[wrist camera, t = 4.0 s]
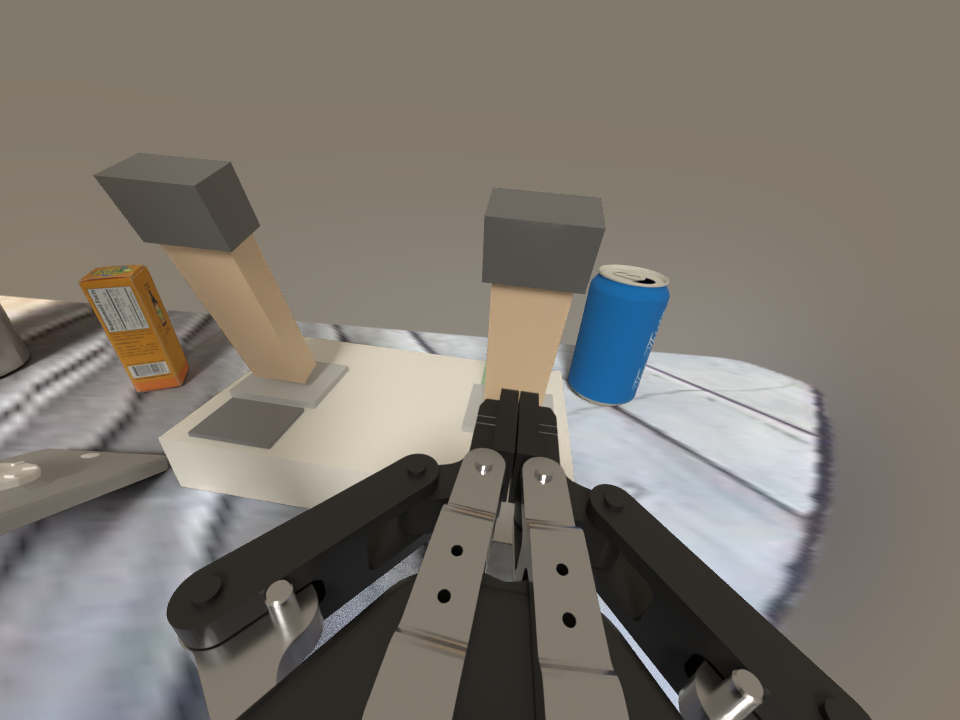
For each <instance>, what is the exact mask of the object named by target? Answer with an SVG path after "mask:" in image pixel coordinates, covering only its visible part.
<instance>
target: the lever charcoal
mask: <svg viewBox="0 0 960 720" xmlns="http://www.w3.org/2000/svg"><path fill="white" fill-rule="evenodd" d="M94 177H95V178H96V179H97V181H98V182H99V183H100V185H101V186H102V187H103V189H104V190H105V191H106V193H107V194H108V195H109V197H110V198H111V199H112V200H113V202H114V203H115V205H116V206H117V207H118V208H119V210H120V211H121V212H122V214H123V215H124V216H125V218H126V219H127V220H128V222H129V223H130V224H131V226H132V227H133V228H134V230H135V231H136V232H137V234H138V235H139V236H140V238H141V239H142V240H143V242H148V243H157V244H160V245H161V246H162V248H163V249H164V251H165V252H166V254H167V255H168V256H169V257H170V259H171V260H172V262H173V263H174V265H175V266H176V267H177V269H178V270H179V272H180V273H181V274H182V276H183V277H184V278H185V280H186V281H187V282H188V284H189V285H190V287H191V288H192V290H193V291H194V292H195V294H196V295H197V296H198V298H199V299H200V301H201V302H202V303H203V305H204V306H205V307H206V309H207V310H208V312H209V313H210V314H211V316H212V317H213V319H214V320H215V321H216V323H217V324H218V326H219V327H220V328H221V330H222V331H223V332H224V334H225V335H226V337H227V338H228V339H229V341H230V342H231V344H232V345H233V346H234V348H235V349H236V350H237V352H238V353H239V355H240V356H241V357H242V359H243V360H244V362H245V363H246V364H247V366H248V367H249V368H250V370H251V371H252V373H253V374H254V375H255V376H256V377H263V378H269V379H276V380H283V381H290V382H297V383H304V384H305V382H306V380H307V379H308V377H309V375H310V374H311V372H312V370H313V369H314V367H315V365H316V362H315V360H314V358H313V356H312V354H311V352H310V350H309V348H308V346H307V344H306V342H305V340H304V338H303V336H302V334H301V332H300V330H299V328H298V326H297V324H296V322H295V320H294V318H293V316H292V313H291V311H290V310H289V307H288V305H287V303H286V301H285V299H284V297H283V295H282V293H281V291H280V289H279V287H278V285H277V283H276V281H275V279H274V277H273V275H272V273H271V271H270V269H269V267H268V265H267V263H266V261H265V259H264V257H263V255H262V253H261V251H260V249H259V247H258V244H257V242H256V241H255V238H254V237H253V234H252V233H253V232H254V231H255V230H256V229H257V228H258V227H260V224H259V222H258V220H257V218H256V216H255V213H254V211H253V209H252V207H251V205H250V203H249V201H248V199H247V196H246V194H245V192H244V190H243V188H242V185H241V183H240V181H239V179H238V177H237V175H236V173H235V171H234V168H233V166H232V164H231V162H226V161H216V160H206V159H195V158H184V157H175V156H165V155H154V154H144V153H138V154H136V155H134V156H132V157H130V158H128V159H126V160H123V161H121V162H119V163H117V164H115V165H113V166H111V167H109V168H107V169H105V170H103V171H101V172H99V173H97V174H95V175H94Z"/></svg>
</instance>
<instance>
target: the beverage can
mask: <svg viewBox="0 0 960 720" xmlns="http://www.w3.org/2000/svg"><path fill="white" fill-rule="evenodd" d="M668 283H669V279H668V278H667V277H666V276H664V275H662V274H660V273H657V272H654V271H651V270H647V269H644V268H639V267H633V266H626V265H605V266H601V267H600V268H599V274H598V275H596V276H595V277H594V278H593V279H592V281H591V284H590V287H589V292H588V296H587V300H586V305H585V309H584V313H583V317H582V321H581V326H580V330H579V334H578V338H577V343H576V347H575V351H574V355H573V359H572V364H571V368H570V372H569V376H568V382H569V384H570V386H571V387H572V389H573V390H574V391H576V393H577V394H578V395H579V396H580V397H581V398H583V399H584V400H586V401H588V402H590V403H593V404H596V405H601V406H617V405H620V404H625V403H628V402H630V401H631V400H632V399H633V398H634V396H635V394H636V391H637V388H638V385H639V382H640V380H641V377H642V374H643V371H644V368H645V365H646V363H647V360H648V357H649V354H650V351H651V348H652V345H653V342H654V340H655V337H656V334H657V332H658V329H659V326H660V323H661V320H662V317H663V314H664V311H665V309H666V306H667V303H668V300H669V297H670V296H669V291H668V288H667V285H668Z"/></svg>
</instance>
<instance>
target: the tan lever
mask: <svg viewBox="0 0 960 720" xmlns="http://www.w3.org/2000/svg"><path fill="white" fill-rule="evenodd" d="M484 220H485V221H484V245H483V270H482V282H486V283H492V289H491V303H490V319H489V334H488V349H487V364H486V380H485V395H484V401H485V400H486V399H494V400H500V394H501V388H505V389H512V390H519V396H520V391H526V392H533V393H539V406H542V403H543V399H544V396H545V392H546V389H547V385H548V382H549V378H550V375H551V371H552V368H553V364H554V361H555V357H556V354H557V350H558V347H559V343H560V340H561V336H562V333H563V329H564V326H565V322H566V319H567V315H568V311H569V308H570V304H571V301H572V298H573V294H574V293H580V294H585V292H586V288H587V285H588V282H589V279H590V276H591V273H592V270H593V266H594V263H595V260H596V257H597V254H598V250H599V247H600V244H601V241H602V238H603V235H604V231H605V222H604V215H603V208H602V201H601V198H595V197H585V196H575V195H564V194H553V193H544V192H533V191H524V190H512V189H503V188H493V189H492V193H491V196H490V199H489V203H488V206H487V210H486V213H485V219H484ZM518 402H519V401H518Z"/></svg>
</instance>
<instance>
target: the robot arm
mask: <svg viewBox="0 0 960 720" xmlns="http://www.w3.org/2000/svg"><path fill="white" fill-rule="evenodd" d="M29 357H30V353H29V351H28V349H27V347H26V346H25V344H24V342H23V341H22V339H21V337H20V336H19V334H18V332H17V331H16V329H15V328H14V326H13V324H12V323H11V321H10V319H9V318H8V316H7V314H6V312H5V311H4V309H3V307H2V306H1V304H0V377H1V376H3V375H5V374H7V373H9V372H11V371H13V370H15V369H17V368H18V367H20V366H21V365H23V364H24V363H25V362H26V361H27V360H28V359H29ZM518 401H519V402H518ZM509 483H510V485H509ZM508 488H509V497H508V503H514V515H513V520H512V562H513V582H503V581H501V580H499V579H496V578H494V577H492V576H490V575H488V574H486V573H487V567H488V562H489V557H490V552H491V547H492V542H493V537H494V532H495V527H496V522H497V518H498V517H499V514H500V509H501V503H502V502H506V500H507V494H508ZM429 540H430V542H429V545H428V548H427V550H426V553H425V556H424V559H423V561H422V564H421V567H420V570H419V572H418V573H417V574H415V575H412V576H409V577H407V578H405V579H403V580H401V581H399V582H398V583H396V584H395V585H393V586H392V587H390V588H389V589H388V590H387V591H385V592H384V593H383V594H382V595H381V596H380V597H378V598H377V599H376V600H375V601H374V602H373V603H371V604H370V605H369V606H368V607H367V608H366V609H364V610H363V611H362V612H361V613H360V614H358V615H357V616H356V617H355V618H354V619H353V620H351V621H350V622H349V623H348V624H347V625H346V626H344V627H343V628H342V629H341V630H340V631H339V632H337V633H336V634H335V635H334V636H333V637H331V638H330V639H329V640H328V641H327V642H326V643H324V644H323V645H322V646H321V647H320V648H319V649H317V650H316V651H315V652H314V653H313V654H312V655H310V656H309V657H308V658H307V659H306V660H304V659H305V658H306V657H307V656H308V655H309V654H310V653H311V651H312V650H313V649H314V648H315V646H316V645H317V643H318V641H319V639H320V637H321V634H322V631H323V620H325V619H326V618H327V617H329V616H330V615H331V614H333V613H334V612H335V611H337V610H338V609H339V608H340V607H342V606H343V605H344V604H346V603H347V602H348V601H350V600H351V599H352V598H354V597H355V596H356V595H358V594H359V593H360V592H362V591H363V590H364V589H365V588H367V587H368V586H369V585H371V584H372V583H373V582H375V581H376V580H377V579H379V578H380V577H381V576H383V575H384V574H385V573H386V572H388V571H389V570H390V569H392V568H393V567H394V566H396V565H397V564H398V563H400V562H401V561H402V560H404V559H405V558H406V557H407V556H409V555H410V554H411V553H413V552H414V551H415V550H417V549H418V548H419V547H421V546H422V545H423V544H425V543H426V542H427V541H429ZM596 592H597V593H598V594H599V596H600V597H601V598H602V600H603V601H604V602H605V603H606V605H607V606H608V607H609V608H610V610H611V611H612V612H613V613H614V615H615V616H616V617H617V619H618V620H619V621H620V622H621V624H622V625H623V626H624V627H625V629H626V630H627V631H628V632H629V634H630V635H631V636H632V637H633V639H634V640H635V641H636V643H637V644H638V645H639V646H640V648H641V649H642V650H643V651H644V653H645V654H646V655H647V656H648V658H649V659H650V660H651V661H652V663H653V664H654V665H655V667H656V668H657V669H658V670H659V672H660V673H661V674H662V675H663V677H664V678H665V679H666V680H667V682H668V683H669V684H670V686H671V687H672V688H673V689H674V691H675V692H676V693H677V694H678V696H679V710H680V713H679V712H678V710H677V709H676V707H675V706H674V705H673V703H672V702H671V701H670V699H669V698H668V697H667V695H666V694H665V693H664V691H663V690H662V688H661V687H660V686H659V684H658V683H657V682H656V680H655V679H654V678H653V676H652V675H651V673H650V672H649V671H648V669H647V668H646V667H645V665H644V664H643V663H642V661H641V660H640V659H639V657H638V656H637V654H636V653H635V652H634V650H633V649H632V648H631V646H630V645H629V644H628V642H627V641H626V640H625V638H624V637H623V635H622V634H621V633H620V632H619V630H618V629H617V628H616V627H615V626H614V624H613V623H612V622H611V621H610V620H609V619H608V618H607V617H606V616H605V615H604V614H602V613H601V612H600V607H599V602H598V598H597V593H596ZM167 619H168V621H169V623H170V624H171V626H172V627H173V629H174V630H175V632H176V633H177V635H178V637H179V642H180V643H181V645H182V647H183V648H184V650H185V651H186V652H187V654H188V655H189V657H190V658H191V660H192V661H193V662H194V664H195V665H196V667H197V668H198V672H199V676H200V680H201V684H202V688H203V692H204V696H205V700H206V704H207V708H208V712H209V716H210V720H871V718H870V717H869V716H868V714H867V713H866V712H865V711H864V710H863V709H862V707H861V706H860V705H859V704H858V703H857V702H856V701H855V700H854V699H852V698H851V697H850V696H849V695H848V694H847V693H846V692H845V691H844V690H843V689H842V688H840V687H839V686H838V685H837V684H836V683H835V682H834V681H833V680H832V679H831V678H830V677H828V676H827V675H826V674H825V673H824V672H823V671H822V670H821V669H819V667H817V666H816V665H815V664H814V663H813V662H812V661H811V660H810V659H809V658H808V657H807V656H805V655H804V654H803V653H802V652H801V651H800V650H799V649H798V648H797V647H796V646H795V645H793V644H792V643H791V642H790V641H789V640H788V639H787V638H786V637H785V636H784V635H783V634H781V633H780V632H779V631H778V630H777V629H776V628H775V627H774V626H773V625H772V624H771V623H769V622H768V621H767V620H766V619H765V618H764V617H763V616H762V615H761V614H760V613H758V612H757V611H756V610H755V609H754V608H753V607H752V606H751V605H750V604H749V603H748V602H746V601H745V600H744V599H743V598H742V597H741V596H740V595H739V594H738V593H737V592H736V591H734V590H733V589H732V588H731V587H730V586H729V585H728V584H727V583H726V582H725V581H723V580H722V579H721V578H720V577H719V576H718V575H717V574H716V573H715V572H714V571H713V570H711V569H710V568H709V567H708V566H707V565H706V564H705V563H704V562H703V561H702V560H701V559H699V558H698V557H697V556H696V555H695V554H694V553H693V552H692V551H691V550H690V549H688V548H687V547H686V546H685V545H684V544H683V543H682V542H681V541H680V540H679V539H678V538H676V537H675V536H674V535H673V534H672V533H671V532H670V531H669V530H668V529H667V528H666V527H664V526H663V525H662V524H661V523H660V522H659V521H658V520H657V519H656V518H655V517H653V516H652V515H651V514H650V513H649V512H648V511H647V510H646V509H645V508H644V507H643V506H641V505H640V504H639V503H638V502H637V501H636V500H635V499H634V498H633V497H632V496H631V495H629V494H628V493H627V492H626V491H624V490H623V489H621V488H619V487H617V486H614V485H609V484H602V485H598V486H596V487H594V488H593V489H592V490H590V489H588V488H585V487H583V486H581V485H578V484H576V483H575V482H573V481H572V480H570V479H569V478H568V477H567V476H566V475H565V472H564V470H563V468H562V467H561V465H560V455H559V442H558V429H557V417H556V415H555V414H554V412H553V411H552V409H551V408H549V407H543V406H539V393H533V392H526V391H520V396H519V390H512V389H505V388H501V394H500V400H494V399H486V400H485V401H484V402H483V403H482V404H481V405H480V406H479V411H478V416H477V420H476V424H475V428H474V433H473V437H472V441H471V446H470V450H469V452H468V453H467V454H466V455H465V457H464V458H463V459H462V460H460V461H458V462H455V463H452V464H444V465H438V463H437V462H436V460H435V459H434V458H432V457H431V456H429V455H426V454H411V455H407V456H405V457H403V458H402V459H400V460H398V461H396V462H394V463H392V464H391V465H389V466H387V467H385V468H383V469H382V470H380V471H378V472H376V473H374V474H372V475H371V476H369V477H367V478H365V479H363V480H362V481H360V482H358V483H356V484H354V485H352V486H351V487H349V488H347V489H345V490H343V491H342V492H340V493H338V494H336V495H334V496H332V497H331V498H329V499H327V500H325V501H323V502H322V503H320V504H318V505H316V506H314V507H312V508H311V509H309V510H307V511H305V512H303V513H302V514H300V515H298V516H296V517H294V518H292V519H291V520H289V521H287V522H285V523H283V524H282V525H280V526H278V527H276V528H274V529H272V530H271V531H269V532H267V533H265V534H263V535H262V536H260V537H258V538H256V539H254V540H252V541H251V542H249V543H247V544H245V545H243V546H242V547H240V548H238V549H236V550H234V551H232V552H231V553H229V554H227V555H225V556H223V557H221V558H220V559H218V560H216V561H214V562H212V563H211V564H209V565H207V566H205V567H203V568H201V569H200V570H198V571H196V572H195V573H193V574H192V575H191V576H189V577H188V578H187V579H186V580H185V581H183V582H182V584H181V585H180V586H179V587H178V588H177V589H176V591H175V592H174V593H173V595H172V597H171V599H170V601H169V603H168V607H167ZM303 660H304V661H303ZM302 661H303V662H302ZM301 662H302V663H301ZM300 663H301V664H300ZM299 664H300V665H299ZM298 665H299V666H298Z"/></svg>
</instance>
